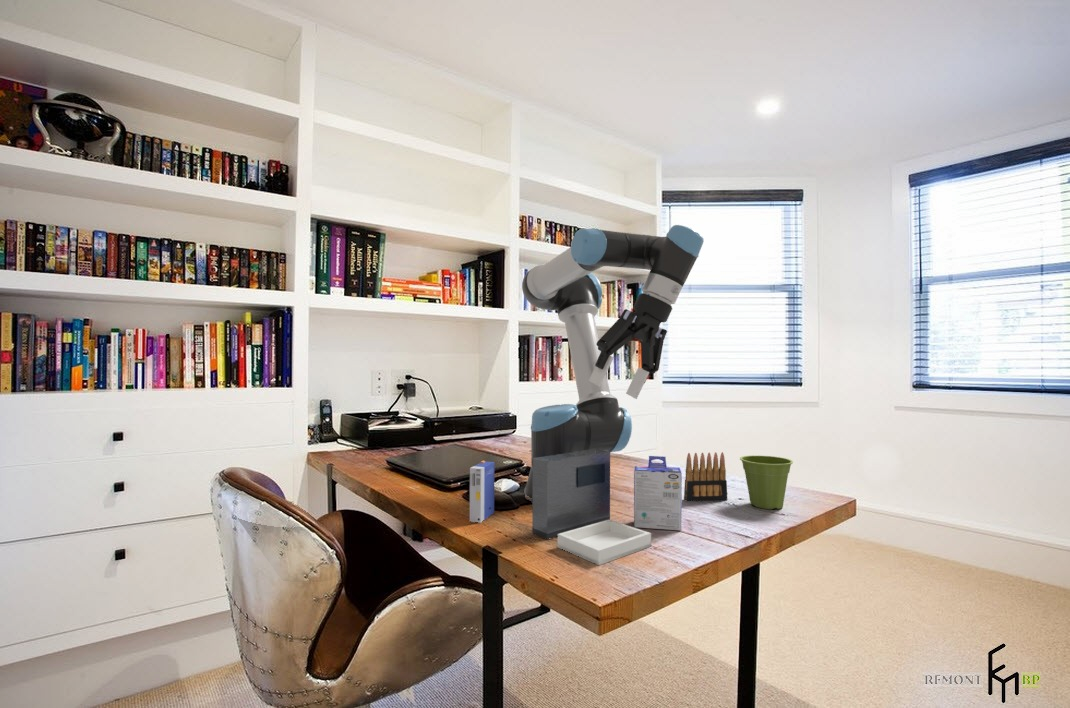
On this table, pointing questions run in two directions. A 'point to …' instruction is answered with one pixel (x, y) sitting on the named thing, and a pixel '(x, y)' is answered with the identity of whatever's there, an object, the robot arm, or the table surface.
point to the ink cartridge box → (657, 496)
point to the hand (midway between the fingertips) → (613, 390)
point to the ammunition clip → (705, 479)
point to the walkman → (481, 491)
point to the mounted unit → (570, 491)
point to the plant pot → (766, 480)
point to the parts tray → (604, 541)
